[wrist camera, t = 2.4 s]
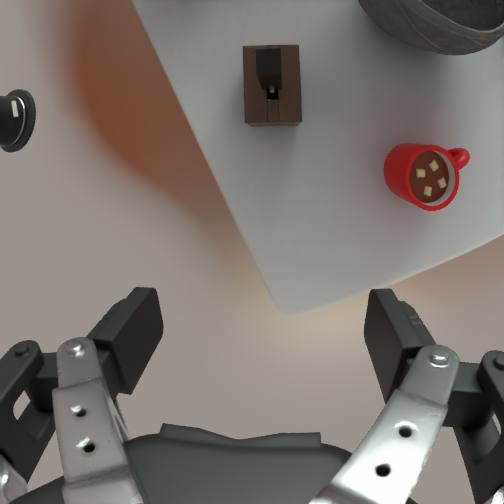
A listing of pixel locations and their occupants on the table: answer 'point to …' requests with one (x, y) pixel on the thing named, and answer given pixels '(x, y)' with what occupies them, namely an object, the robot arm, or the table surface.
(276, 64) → the black block with pin
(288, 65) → the knife block
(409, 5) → the bowl
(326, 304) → the table surface
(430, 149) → the mug
